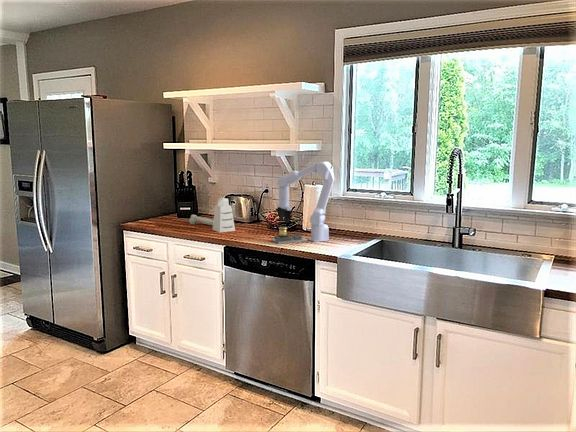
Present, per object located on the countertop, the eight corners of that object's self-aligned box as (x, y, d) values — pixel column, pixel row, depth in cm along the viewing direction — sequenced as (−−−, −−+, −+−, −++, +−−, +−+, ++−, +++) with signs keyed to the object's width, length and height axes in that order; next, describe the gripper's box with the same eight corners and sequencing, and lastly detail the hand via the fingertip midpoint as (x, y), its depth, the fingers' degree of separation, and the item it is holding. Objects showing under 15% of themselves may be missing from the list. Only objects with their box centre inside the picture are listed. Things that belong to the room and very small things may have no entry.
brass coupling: (285, 238, 268) (285, 226, 267) (288, 240, 263) (288, 227, 262) (277, 239, 266) (277, 226, 265) (280, 240, 262) (280, 228, 261)
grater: (227, 228, 306) (226, 197, 302) (235, 230, 297) (234, 198, 294) (212, 229, 300) (211, 198, 297) (219, 232, 291) (219, 199, 288)
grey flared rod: (216, 221, 307) (187, 213, 320) (215, 231, 309) (187, 222, 321) (221, 220, 312) (193, 212, 324) (220, 230, 313) (192, 221, 326)
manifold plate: (300, 238, 275) (300, 233, 274) (307, 241, 267) (307, 235, 266) (271, 240, 267) (271, 235, 267) (277, 243, 259) (277, 238, 259)
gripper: (272, 196, 278) (272, 220, 280) (282, 199, 265) (282, 223, 267) (283, 196, 280) (283, 219, 283) (294, 199, 267) (294, 223, 270)
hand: (283, 221), depth 275 cm, fingers open, 7 cm apart
